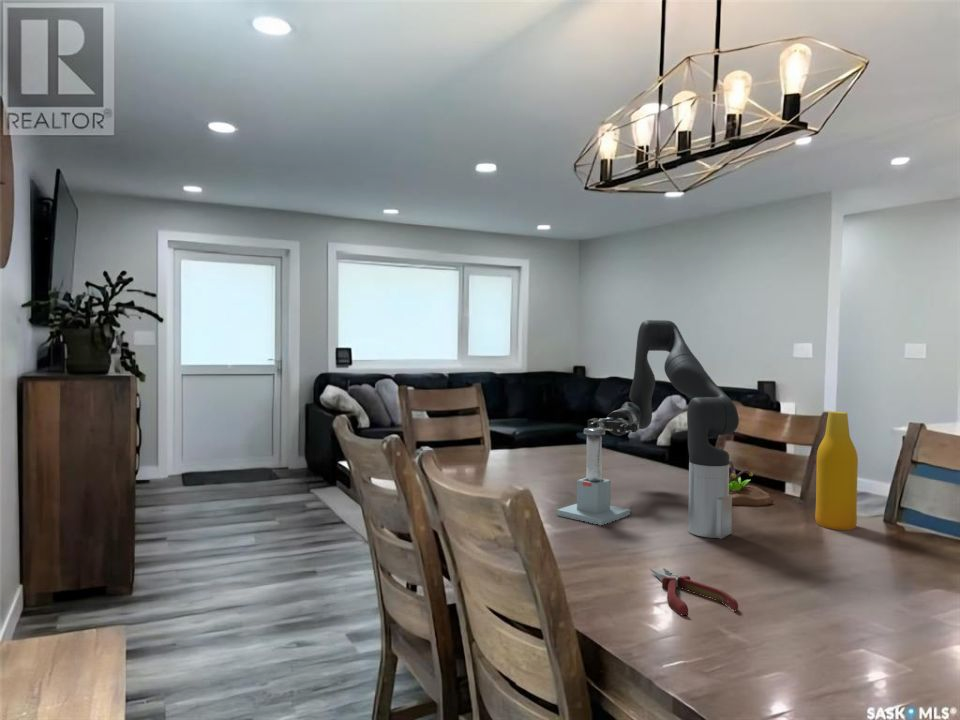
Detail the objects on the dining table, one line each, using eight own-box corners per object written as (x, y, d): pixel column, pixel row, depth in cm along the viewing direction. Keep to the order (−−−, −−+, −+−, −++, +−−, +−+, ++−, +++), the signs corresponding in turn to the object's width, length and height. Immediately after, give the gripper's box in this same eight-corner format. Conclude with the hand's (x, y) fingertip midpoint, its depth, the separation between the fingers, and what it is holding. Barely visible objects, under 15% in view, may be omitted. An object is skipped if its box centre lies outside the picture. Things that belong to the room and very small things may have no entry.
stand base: (629, 514, 170) (630, 479, 170) (601, 525, 160) (602, 488, 160) (586, 505, 180) (586, 472, 180) (556, 515, 170) (557, 480, 169)
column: (608, 507, 170) (608, 429, 169) (596, 511, 166) (597, 431, 165) (590, 504, 174) (591, 427, 173) (579, 507, 170) (579, 429, 169)
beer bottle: (815, 527, 159) (817, 413, 159) (815, 518, 168) (817, 409, 167) (857, 532, 155) (860, 415, 154) (855, 523, 163) (857, 411, 163)
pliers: (683, 573, 129) (683, 560, 129) (741, 615, 109) (741, 600, 109) (630, 577, 127) (630, 564, 127) (680, 620, 107) (680, 605, 107)
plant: (756, 491, 199) (756, 456, 199) (779, 507, 180) (779, 468, 180) (691, 490, 201) (691, 455, 201) (707, 505, 182) (707, 467, 182)
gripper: (599, 407, 197) (582, 413, 183) (645, 410, 190) (631, 416, 176) (599, 431, 197) (582, 439, 183) (644, 435, 190) (630, 443, 176)
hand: (606, 428), depth 179 cm, fingers open, 8 cm apart
